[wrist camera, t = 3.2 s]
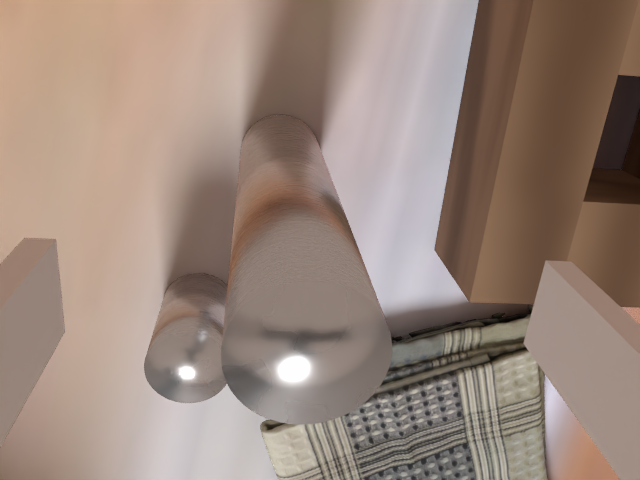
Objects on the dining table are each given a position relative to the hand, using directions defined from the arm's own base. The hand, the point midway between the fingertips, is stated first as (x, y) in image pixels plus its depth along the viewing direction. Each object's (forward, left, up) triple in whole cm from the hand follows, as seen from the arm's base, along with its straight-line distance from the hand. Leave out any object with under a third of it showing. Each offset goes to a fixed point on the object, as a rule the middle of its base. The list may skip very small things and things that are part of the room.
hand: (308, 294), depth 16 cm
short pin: (-4, -9, -16) cm, 18 cm away
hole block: (+16, +3, -15) cm, 22 cm away
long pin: (0, 0, -15) cm, 15 cm away
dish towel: (+10, -19, -16) cm, 27 cm away
